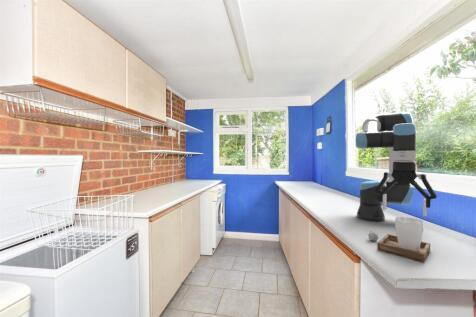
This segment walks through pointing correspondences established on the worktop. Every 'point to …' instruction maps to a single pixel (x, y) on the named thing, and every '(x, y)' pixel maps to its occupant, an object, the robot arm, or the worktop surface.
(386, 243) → the tray
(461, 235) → the worktop surface
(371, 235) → the ball
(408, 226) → the cup
